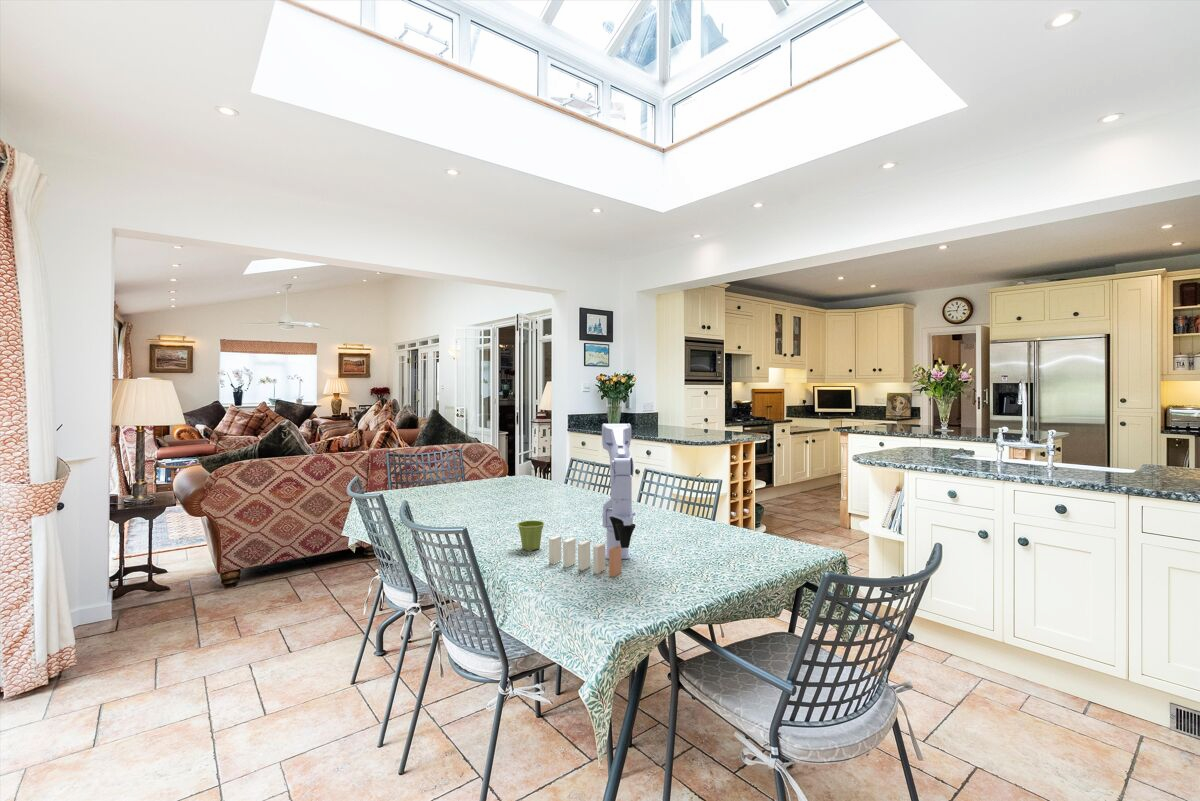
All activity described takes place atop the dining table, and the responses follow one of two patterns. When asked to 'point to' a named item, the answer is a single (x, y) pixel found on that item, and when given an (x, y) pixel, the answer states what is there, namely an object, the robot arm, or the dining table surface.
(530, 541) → the plant pot
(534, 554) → the dining table surface
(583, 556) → the ivory domino
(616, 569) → the rust domino
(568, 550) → the ivory domino
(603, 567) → the ivory domino
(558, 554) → the ivory domino
